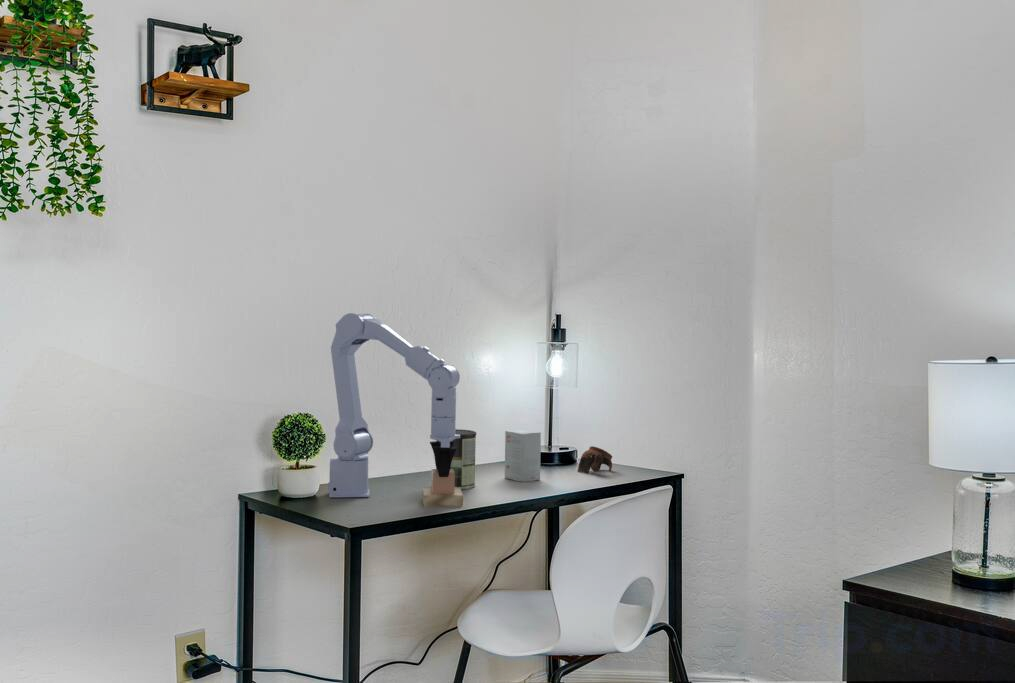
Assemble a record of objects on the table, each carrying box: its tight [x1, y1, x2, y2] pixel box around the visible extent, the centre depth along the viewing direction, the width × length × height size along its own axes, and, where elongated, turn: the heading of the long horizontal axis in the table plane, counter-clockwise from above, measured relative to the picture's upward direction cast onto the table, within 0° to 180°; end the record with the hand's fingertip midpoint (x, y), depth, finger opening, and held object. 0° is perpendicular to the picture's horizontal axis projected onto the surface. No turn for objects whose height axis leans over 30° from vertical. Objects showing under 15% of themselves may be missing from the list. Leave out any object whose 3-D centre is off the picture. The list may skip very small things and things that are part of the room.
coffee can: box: [450, 428, 477, 490], centre depth 225 cm, size 10×10×14 cm
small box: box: [504, 429, 542, 483], centre depth 236 cm, size 8×6×13 cm
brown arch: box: [577, 445, 613, 474], centre depth 250 cm, size 12×10×8 cm
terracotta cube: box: [430, 468, 455, 494], centre depth 204 cm, size 5×5×5 cm
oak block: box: [422, 487, 464, 507], centre depth 204 cm, size 9×9×3 cm
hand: (442, 474), depth 204 cm, fingers open, 7 cm apart
